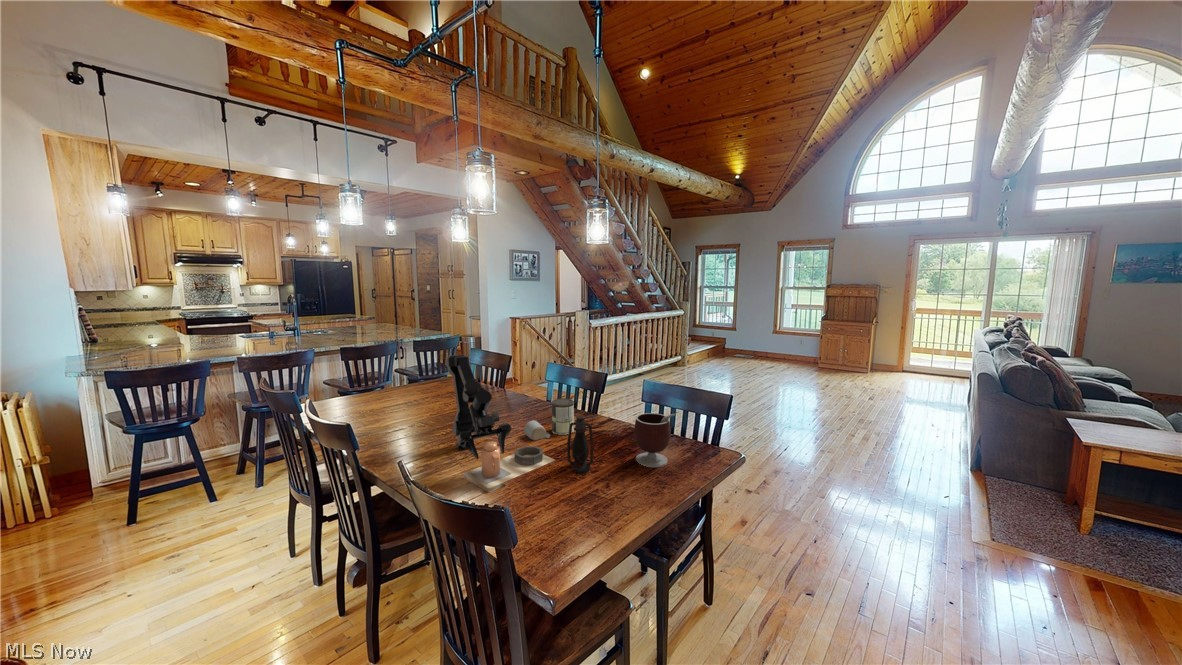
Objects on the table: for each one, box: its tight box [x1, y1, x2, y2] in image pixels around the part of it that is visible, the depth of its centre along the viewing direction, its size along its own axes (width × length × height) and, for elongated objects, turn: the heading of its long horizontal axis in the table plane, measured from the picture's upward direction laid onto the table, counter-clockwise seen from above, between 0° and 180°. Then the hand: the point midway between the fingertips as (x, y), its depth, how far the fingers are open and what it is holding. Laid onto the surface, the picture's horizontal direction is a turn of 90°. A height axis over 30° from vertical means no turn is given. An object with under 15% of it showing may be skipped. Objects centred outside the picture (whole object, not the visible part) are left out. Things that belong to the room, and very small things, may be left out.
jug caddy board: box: [462, 445, 556, 493], centre depth 157 cm, size 30×16×4 cm, turn 137°
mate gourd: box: [633, 412, 676, 468], centre depth 164 cm, size 16×14×20 cm
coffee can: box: [551, 398, 575, 436], centre depth 196 cm, size 10×10×14 cm
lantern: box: [566, 390, 595, 475], centre depth 156 cm, size 8×8×30 cm
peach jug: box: [480, 441, 501, 478], centre depth 149 cm, size 9×6×11 cm
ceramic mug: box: [523, 420, 551, 441], centre depth 187 cm, size 11×8×8 cm
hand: (490, 456), depth 150 cm, fingers open, 9 cm apart
